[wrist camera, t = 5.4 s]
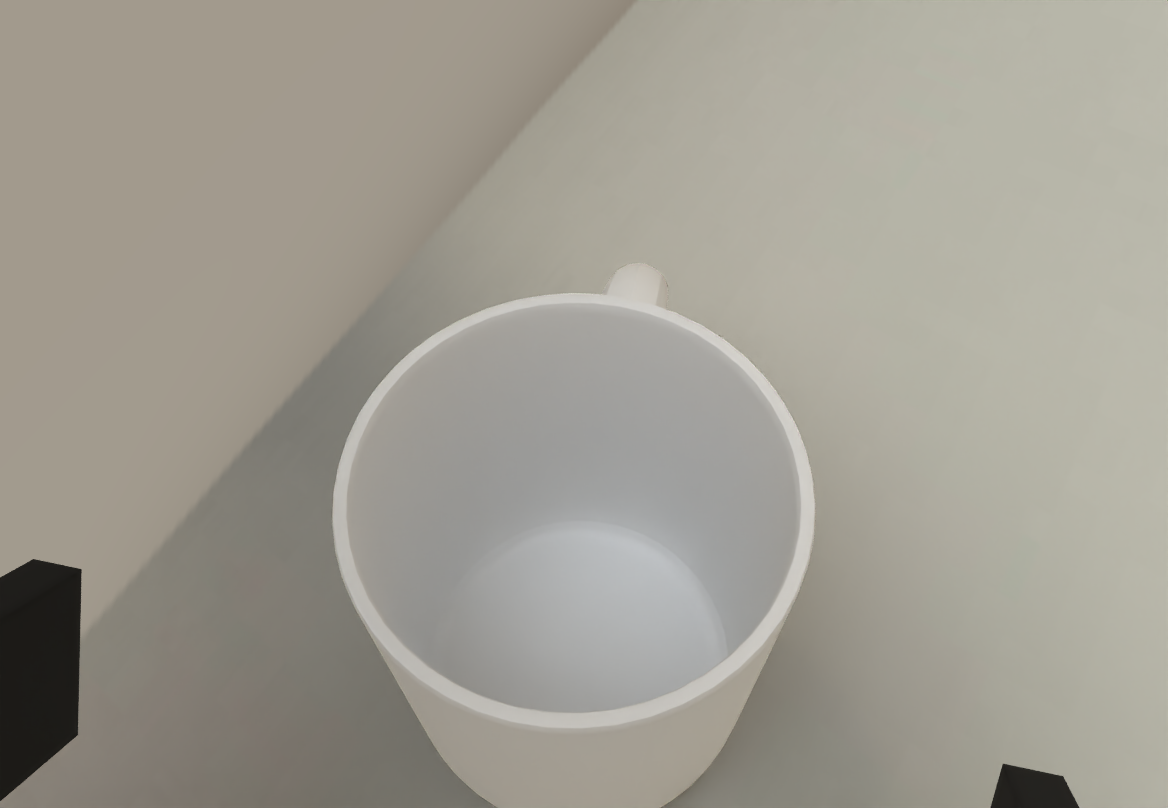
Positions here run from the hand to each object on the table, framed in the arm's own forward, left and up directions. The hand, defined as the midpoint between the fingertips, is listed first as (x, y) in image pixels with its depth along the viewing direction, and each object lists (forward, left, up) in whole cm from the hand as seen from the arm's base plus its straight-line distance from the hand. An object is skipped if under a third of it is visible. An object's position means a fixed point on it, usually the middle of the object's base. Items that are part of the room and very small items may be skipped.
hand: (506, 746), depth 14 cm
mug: (0, +7, -12) cm, 13 cm away
